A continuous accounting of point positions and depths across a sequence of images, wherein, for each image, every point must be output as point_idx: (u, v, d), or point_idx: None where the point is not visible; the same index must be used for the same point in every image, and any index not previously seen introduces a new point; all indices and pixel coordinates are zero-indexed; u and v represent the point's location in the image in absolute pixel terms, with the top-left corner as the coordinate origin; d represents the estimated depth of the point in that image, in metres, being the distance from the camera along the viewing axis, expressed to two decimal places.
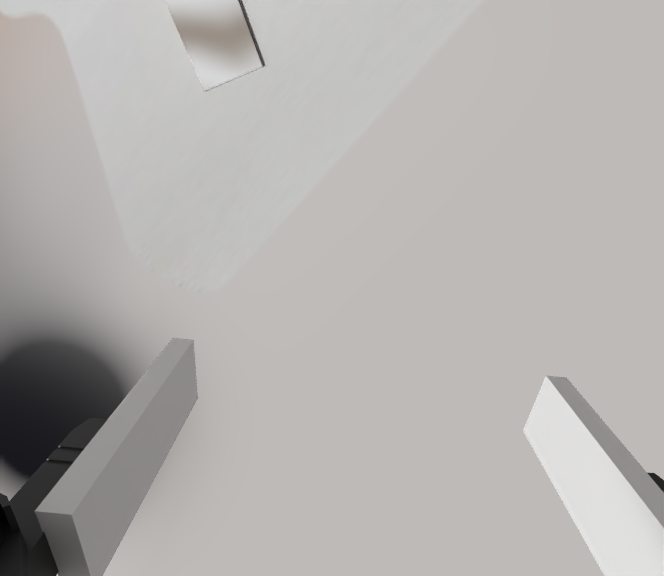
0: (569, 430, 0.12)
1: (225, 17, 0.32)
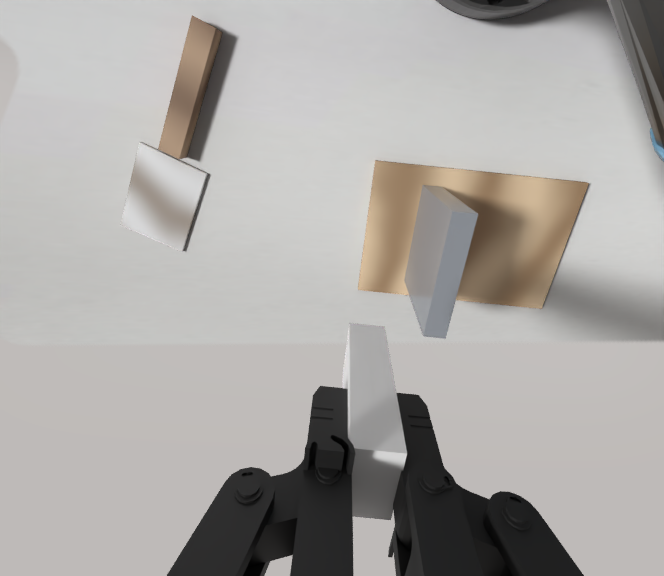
0: None
1: (178, 202, 0.34)
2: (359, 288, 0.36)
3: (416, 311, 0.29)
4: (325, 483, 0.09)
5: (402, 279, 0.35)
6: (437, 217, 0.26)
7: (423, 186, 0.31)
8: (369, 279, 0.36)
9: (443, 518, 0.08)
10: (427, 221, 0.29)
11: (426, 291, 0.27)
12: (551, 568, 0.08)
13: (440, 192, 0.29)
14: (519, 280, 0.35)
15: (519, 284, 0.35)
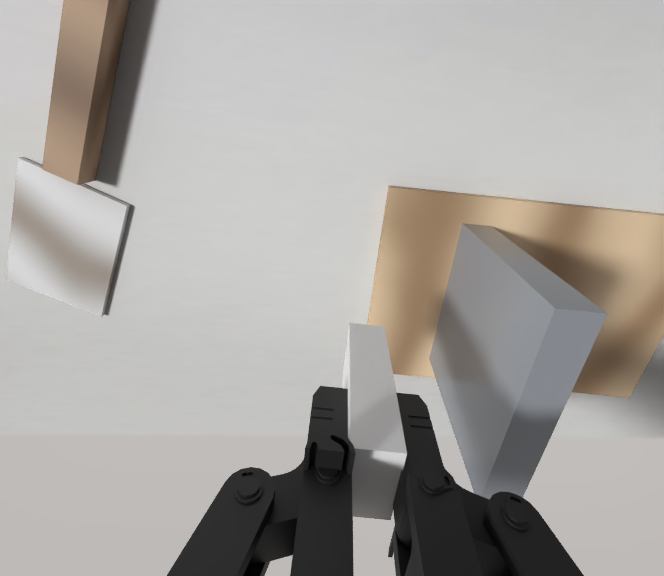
0: None
1: (88, 247, 0.22)
2: None
3: (458, 437, 0.18)
4: (325, 483, 0.09)
5: (426, 357, 0.24)
6: (505, 297, 0.14)
7: (464, 227, 0.20)
8: None
9: (443, 518, 0.08)
10: (477, 291, 0.17)
11: (482, 422, 0.15)
12: (551, 568, 0.08)
13: (499, 243, 0.17)
14: (600, 360, 0.24)
15: (600, 364, 0.24)
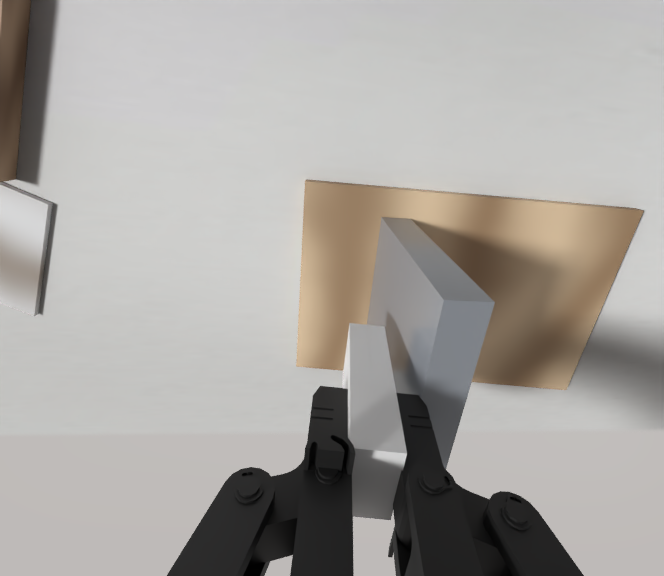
0: None
1: (14, 247, 0.22)
2: (298, 364, 0.25)
3: None
4: (325, 483, 0.09)
5: None
6: (411, 290, 0.14)
7: (382, 220, 0.20)
8: (311, 352, 0.24)
9: (443, 518, 0.08)
10: (392, 285, 0.17)
11: None
12: (551, 568, 0.08)
13: (411, 235, 0.17)
14: (533, 352, 0.23)
15: (533, 357, 0.24)
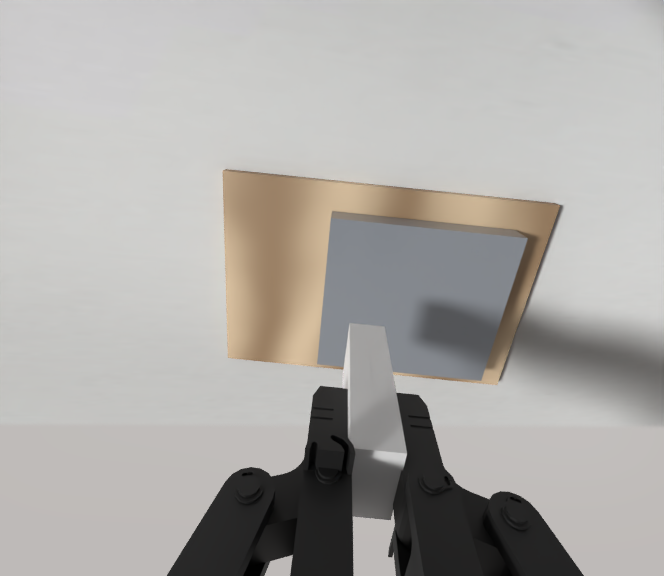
0: None
1: None
2: (229, 355, 0.25)
3: (429, 371, 0.22)
4: (325, 483, 0.09)
5: (289, 344, 0.24)
6: (462, 253, 0.19)
7: (340, 220, 0.19)
8: (241, 343, 0.24)
9: (443, 518, 0.08)
10: (409, 265, 0.20)
11: (464, 339, 0.21)
12: (551, 568, 0.08)
13: (394, 220, 0.19)
14: None
15: None
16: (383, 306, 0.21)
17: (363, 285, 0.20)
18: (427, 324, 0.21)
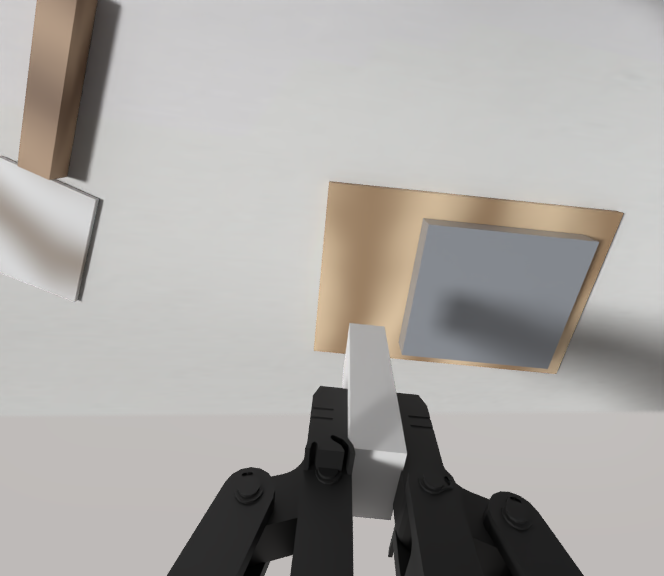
0: None
1: (61, 238, 0.24)
2: (315, 348, 0.27)
3: (502, 361, 0.25)
4: (325, 483, 0.09)
5: None
6: (541, 255, 0.22)
7: (436, 226, 0.21)
8: (328, 337, 0.27)
9: (443, 518, 0.08)
10: (493, 265, 0.22)
11: (536, 331, 0.24)
12: (551, 568, 0.08)
13: (480, 226, 0.22)
14: None
15: None
16: (466, 302, 0.23)
17: (451, 283, 0.23)
18: (504, 318, 0.24)
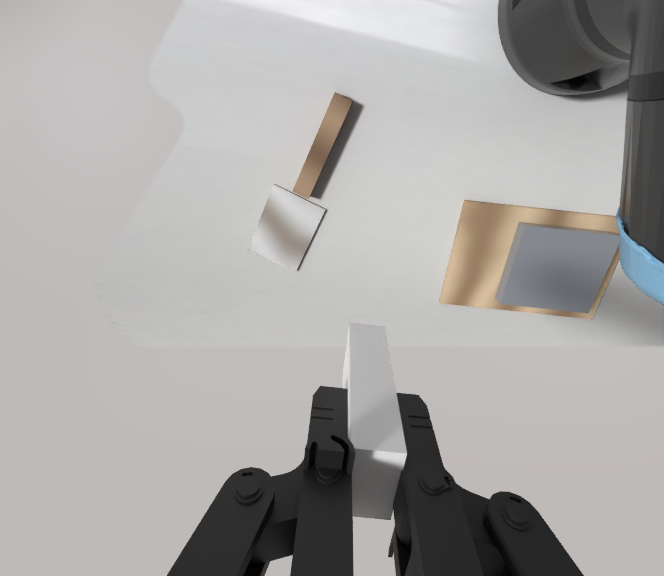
0: None
1: (299, 232, 0.41)
2: (441, 302, 0.44)
3: (560, 308, 0.41)
4: (325, 483, 0.09)
5: (478, 294, 0.43)
6: (589, 243, 0.38)
7: (529, 226, 0.38)
8: (450, 294, 0.43)
9: (443, 518, 0.08)
10: (560, 249, 0.39)
11: (583, 289, 0.40)
12: (551, 568, 0.08)
13: (553, 227, 0.38)
14: None
15: None
16: (542, 271, 0.40)
17: (534, 260, 0.39)
18: (564, 281, 0.40)
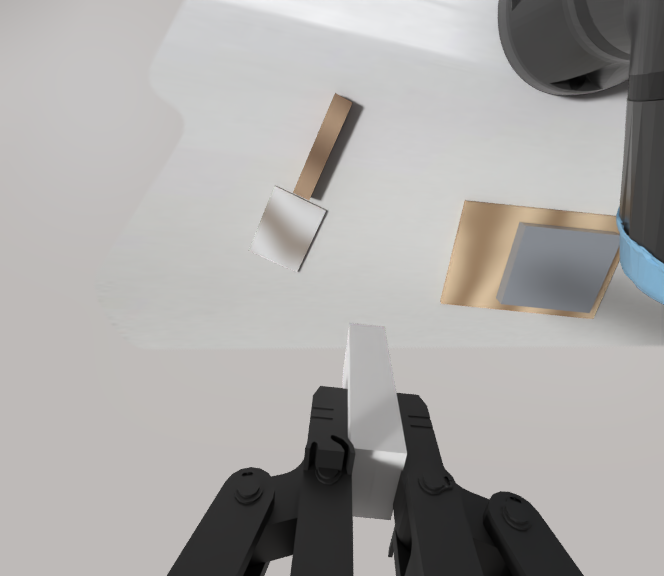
0: None
1: (299, 233, 0.41)
2: (442, 302, 0.44)
3: (562, 308, 0.41)
4: (325, 483, 0.09)
5: (479, 295, 0.43)
6: (589, 243, 0.38)
7: (530, 227, 0.38)
8: (451, 295, 0.43)
9: (443, 518, 0.08)
10: (561, 249, 0.39)
11: (584, 289, 0.40)
12: (551, 568, 0.08)
13: (554, 227, 0.38)
14: None
15: None
16: (543, 271, 0.40)
17: (535, 260, 0.39)
18: (565, 281, 0.40)
